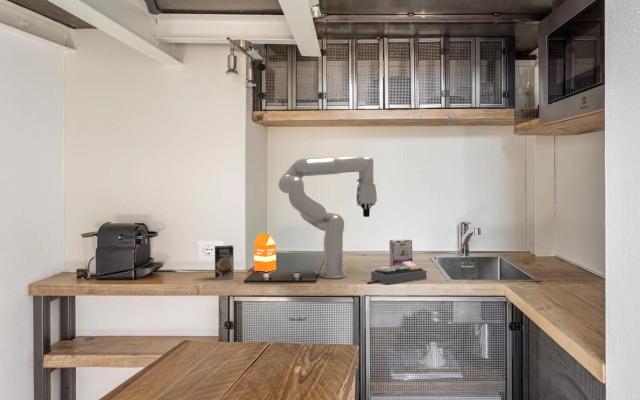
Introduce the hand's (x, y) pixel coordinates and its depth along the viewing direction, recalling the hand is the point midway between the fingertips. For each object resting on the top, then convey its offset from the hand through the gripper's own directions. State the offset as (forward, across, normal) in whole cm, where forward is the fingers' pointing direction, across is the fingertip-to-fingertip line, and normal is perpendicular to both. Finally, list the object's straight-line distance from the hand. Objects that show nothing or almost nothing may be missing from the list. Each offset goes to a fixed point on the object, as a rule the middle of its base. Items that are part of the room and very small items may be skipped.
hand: (366, 216), depth 232 cm
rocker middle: (+24, +4, -22) cm, 33 cm away
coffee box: (+29, -69, +24) cm, 79 cm away
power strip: (+29, +1, -22) cm, 36 cm away
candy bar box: (+29, +17, -7) cm, 35 cm away
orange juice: (+29, -45, +30) cm, 62 cm away
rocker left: (+24, -4, -22) cm, 33 cm away
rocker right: (+24, +12, -22) cm, 34 cm away
